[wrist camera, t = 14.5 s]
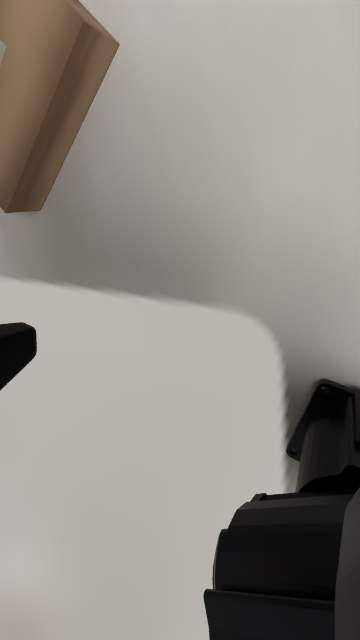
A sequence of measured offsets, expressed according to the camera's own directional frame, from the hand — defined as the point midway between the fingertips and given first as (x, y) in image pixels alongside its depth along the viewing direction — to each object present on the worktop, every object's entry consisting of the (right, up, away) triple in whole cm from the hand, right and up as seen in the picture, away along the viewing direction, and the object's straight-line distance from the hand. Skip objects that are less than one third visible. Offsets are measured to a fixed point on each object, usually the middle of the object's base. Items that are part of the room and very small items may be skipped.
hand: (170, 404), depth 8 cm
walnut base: (-11, +18, +13) cm, 25 cm away
